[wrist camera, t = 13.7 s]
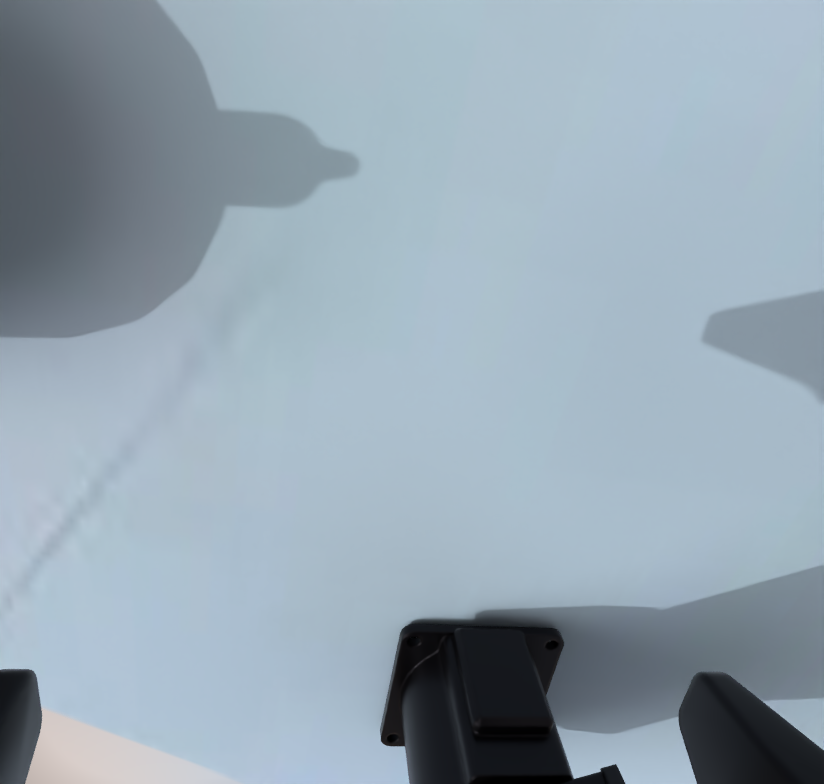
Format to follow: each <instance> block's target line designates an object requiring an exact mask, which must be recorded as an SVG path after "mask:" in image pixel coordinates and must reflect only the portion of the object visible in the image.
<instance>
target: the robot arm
mask: <svg viewBox="0 0 824 784" xmlns="http://www.w3.org/2000/svg"><path fill="white" fill-rule="evenodd" d="M411 637H416V638H411ZM549 641H551V642H549ZM563 646H564V641H563V639H562V636H561V634H560V632H559V631H558V630H557V629H553V628H527V627H496V626H465V625H433V624H410V625H408V626H405V627H404V628H403V629H402V631H401V633H400V637H399V642H398V647H397V651H396V656H395V661H394V666H393V671H392V675H391V680H390V685H389V690H388V695H387V699H386V704H385V709H384V714H383V719H382V723H381V728H380V733H381V742H382V743H383V744H385V745H387V746H405V749H406V758H407V766H408V775H409V783H410V784H625V782H624V780H623V778H622V776H621V774H620V771H619V769H618V767H617V765H616V764H615V765H611V766H608V767H604V768H601V772H598V773H594V774H591V775H587V776H584V777H580V778H576V779H574V778H573V775H572V772H571V769H570V766H569V763H568V760H567V757H566V754H565V751H564V748H563V745H562V742H561V740H560V737H559V734H558V731H557V728H556V725H555V722H554V719H553V716H552V713H551V710H550V707H549V704H548V701H547V698H546V694H547V691H548V688H549V685H550V682H551V680H552V677H553V674H554V671H555V668H556V665H557V663H558V660H559V657H560V654H561V651H562V649H563ZM41 723H42V711H41V704H40V697H39V690H38V683H37V677H36V674H35V673H34V671H32V670H29V669H3V670H0V784H25V781H26V778H27V775H28V771H29V768H30V764H31V761H32V758H33V754H34V751H35V747H36V744H37V741H38V737H39V733H40V729H41ZM679 726H680V730H681V733H682V736H683V740H684V743H685V746H686V749H687V752H688V756H689V759H690V762H691V765H692V769H693V772H694V775H695V778H696V781H697V784H824V750H822V749H821V748H820V747H819V746H817V745H816V744H815V743H814V742H812V741H811V740H810V739H809V738H807V737H806V736H805V735H804V734H802V733H801V732H800V731H799V730H797V729H796V728H795V727H794V726H792V725H791V724H790V723H789V722H787V721H786V720H785V719H783V718H782V717H781V716H780V715H778V714H777V713H776V712H775V711H773V710H772V709H771V708H770V707H768V706H767V705H766V704H765V703H763V702H762V701H761V700H760V699H758V698H757V697H756V696H755V695H753V694H752V693H751V692H750V691H748V690H747V689H746V688H745V687H743V686H742V685H741V684H740V683H738V682H737V681H736V680H735V679H733V678H732V677H731V676H729V675H728V674H726V673H723V672H699V673H697V674H696V675H695V676H694V677H693V679H692V681H691V684H690V686H689V688H688V691H687V693H686V695H685V697H684V700H683V702H682V704H681V707H680V710H679Z"/></svg>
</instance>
